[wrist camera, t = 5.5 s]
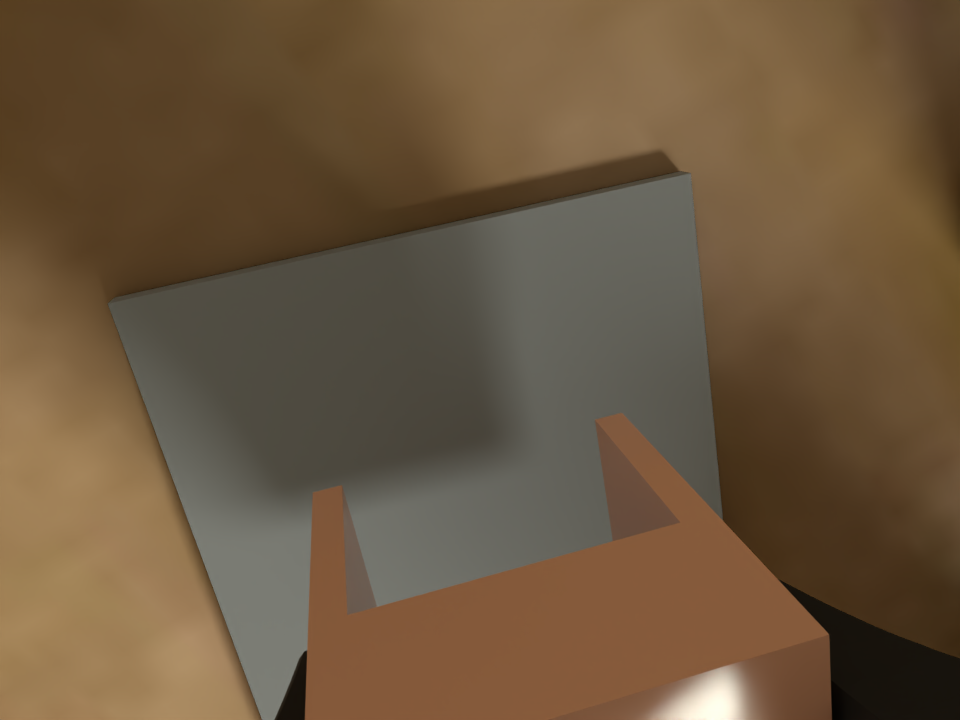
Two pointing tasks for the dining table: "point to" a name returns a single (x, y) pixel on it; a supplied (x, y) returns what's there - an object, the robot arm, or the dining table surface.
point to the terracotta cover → (573, 622)
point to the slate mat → (424, 398)
